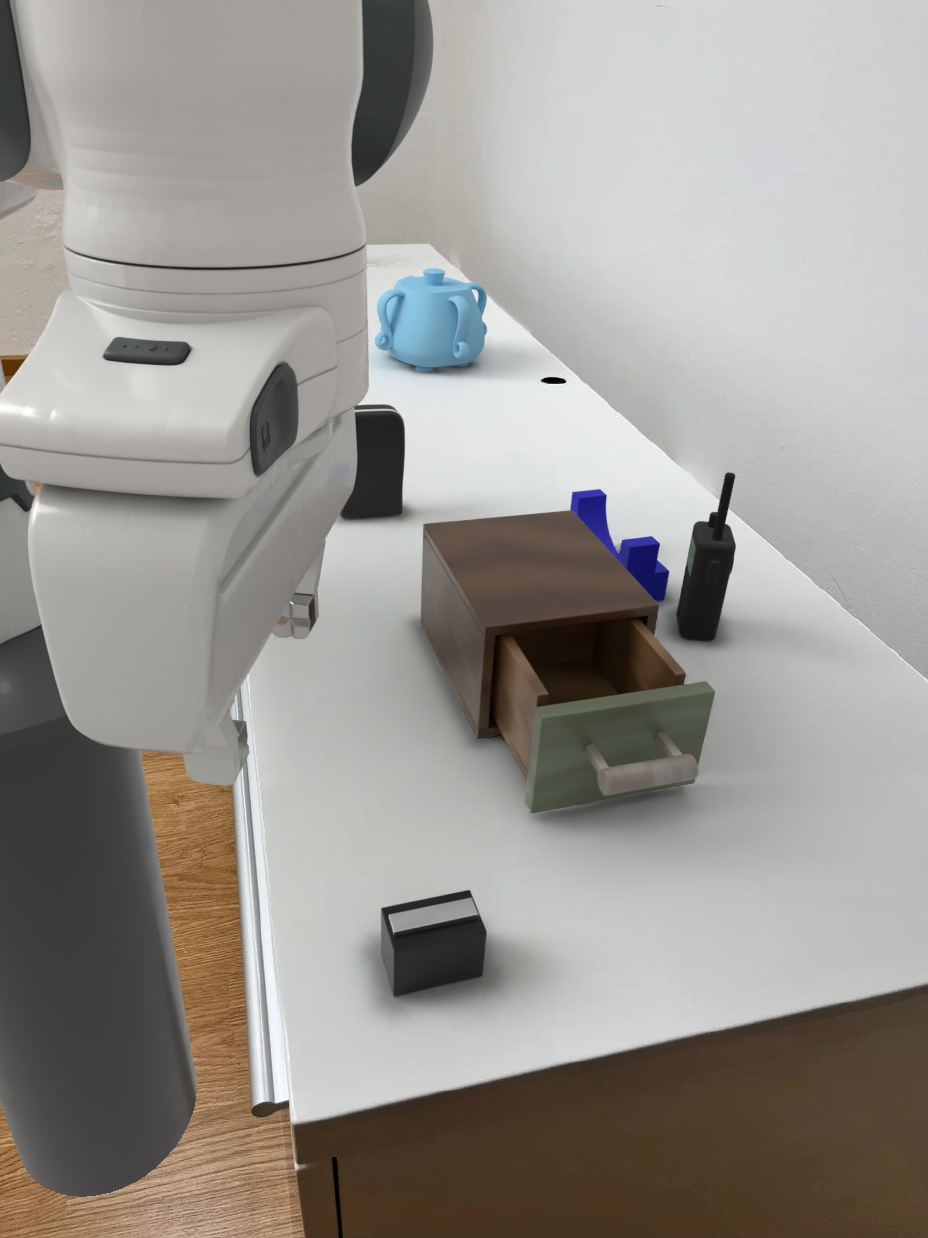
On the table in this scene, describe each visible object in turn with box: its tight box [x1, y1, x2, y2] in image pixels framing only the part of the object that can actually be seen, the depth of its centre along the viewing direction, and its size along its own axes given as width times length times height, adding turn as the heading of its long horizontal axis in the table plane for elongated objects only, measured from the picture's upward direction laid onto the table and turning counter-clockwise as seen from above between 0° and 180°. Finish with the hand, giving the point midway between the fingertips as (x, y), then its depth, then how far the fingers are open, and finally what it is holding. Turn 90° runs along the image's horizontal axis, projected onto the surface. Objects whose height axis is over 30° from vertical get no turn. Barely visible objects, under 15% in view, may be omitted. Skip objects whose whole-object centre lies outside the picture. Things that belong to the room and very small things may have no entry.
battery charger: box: [339, 403, 406, 519], centre depth 97 cm, size 7×4×11 cm, turn 105°
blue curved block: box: [569, 488, 670, 602], centre depth 90 cm, size 12×4×6 cm, turn 19°
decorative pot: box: [374, 267, 488, 373], centre depth 144 cm, size 16×16×14 cm
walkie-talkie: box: [675, 472, 737, 642], centre depth 79 cm, size 5×3×15 cm
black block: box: [380, 889, 488, 997], centre depth 51 cm, size 5×3×4 cm, turn 107°
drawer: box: [490, 617, 716, 815], centre depth 65 cm, size 19×12×8 cm, turn 17°
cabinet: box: [419, 509, 660, 739], centre depth 74 cm, size 16×13×10 cm
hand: (261, 693), depth 37 cm, fingers open, 8 cm apart
